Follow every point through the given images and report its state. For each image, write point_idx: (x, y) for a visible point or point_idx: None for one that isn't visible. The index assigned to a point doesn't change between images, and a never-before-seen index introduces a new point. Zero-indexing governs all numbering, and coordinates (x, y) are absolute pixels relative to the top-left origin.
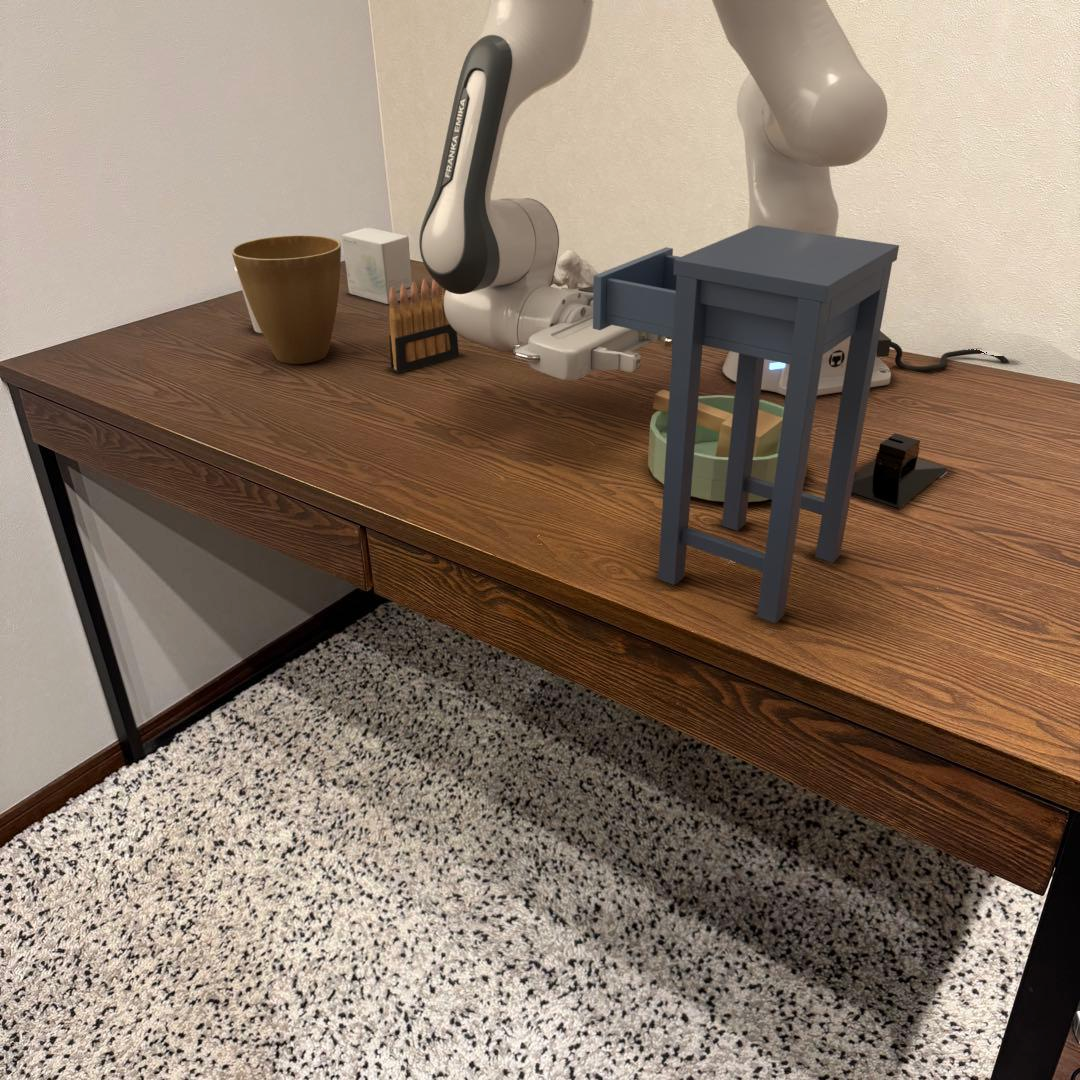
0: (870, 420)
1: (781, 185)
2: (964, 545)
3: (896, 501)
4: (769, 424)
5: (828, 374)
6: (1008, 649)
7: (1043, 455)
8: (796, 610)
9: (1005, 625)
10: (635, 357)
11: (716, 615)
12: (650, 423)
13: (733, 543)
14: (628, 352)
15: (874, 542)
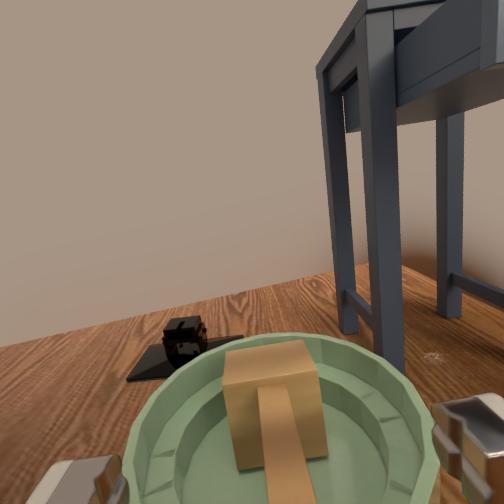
0: (21, 431)
1: None
2: (262, 309)
3: (235, 337)
4: (258, 349)
5: None
6: None
7: (99, 331)
8: (424, 312)
9: (323, 283)
10: (469, 396)
11: (497, 326)
12: None
13: (476, 281)
14: (492, 431)
15: (301, 326)
